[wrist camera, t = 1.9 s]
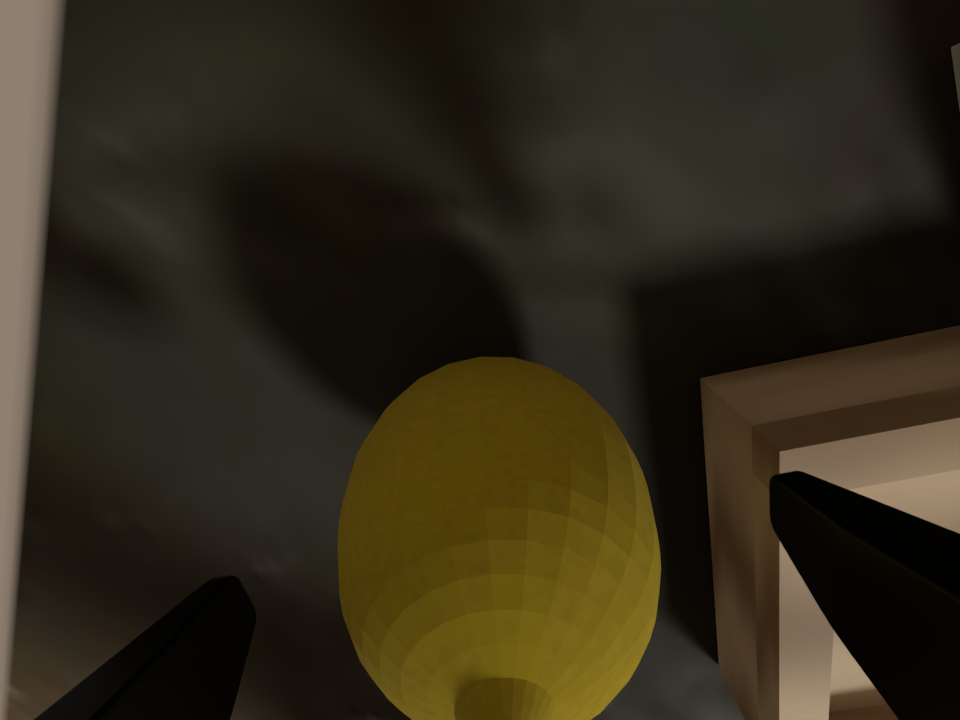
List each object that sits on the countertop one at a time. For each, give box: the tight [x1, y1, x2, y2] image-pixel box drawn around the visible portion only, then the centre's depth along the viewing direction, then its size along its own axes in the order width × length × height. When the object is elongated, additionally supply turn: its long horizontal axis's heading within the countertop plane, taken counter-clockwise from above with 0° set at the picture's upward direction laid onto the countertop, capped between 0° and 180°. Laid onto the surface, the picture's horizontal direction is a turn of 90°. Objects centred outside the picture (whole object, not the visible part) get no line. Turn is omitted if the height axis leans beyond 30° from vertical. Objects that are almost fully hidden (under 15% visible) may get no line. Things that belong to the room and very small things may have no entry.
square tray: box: [700, 325, 960, 720], centre depth 12 cm, size 11×11×4 cm
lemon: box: [338, 357, 661, 720], centre depth 9 cm, size 6×6×8 cm
